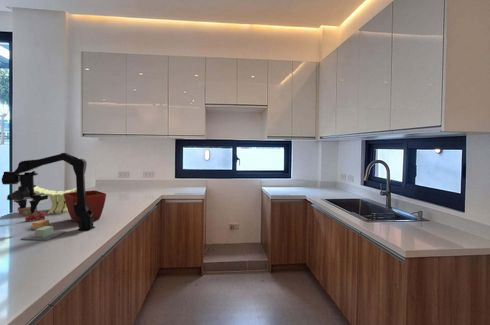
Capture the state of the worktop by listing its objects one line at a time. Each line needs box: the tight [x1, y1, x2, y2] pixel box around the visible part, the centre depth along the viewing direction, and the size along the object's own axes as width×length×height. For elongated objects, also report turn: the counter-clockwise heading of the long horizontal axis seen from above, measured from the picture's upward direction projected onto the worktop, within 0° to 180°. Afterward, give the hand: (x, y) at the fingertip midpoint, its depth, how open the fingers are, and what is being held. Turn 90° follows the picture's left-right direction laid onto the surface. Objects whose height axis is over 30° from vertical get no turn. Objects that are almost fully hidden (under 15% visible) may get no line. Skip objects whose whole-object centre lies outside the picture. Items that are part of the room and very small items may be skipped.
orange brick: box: [31, 219, 50, 230], centre depth 170 cm, size 4×7×4 cm, turn 173°
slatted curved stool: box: [34, 185, 77, 215], centre depth 212 cm, size 30×16×18 cm, turn 113°
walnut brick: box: [18, 206, 38, 218], centre depth 159 cm, size 4×7×4 cm, turn 175°
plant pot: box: [64, 189, 107, 224], centre depth 188 cm, size 19×19×17 cm
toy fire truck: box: [17, 206, 46, 222], centre depth 184 cm, size 3×14×10 cm, turn 141°
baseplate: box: [20, 225, 67, 242], centre depth 155 cm, size 14×14×4 cm
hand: (28, 212), depth 159 cm, fingers closed on walnut brick, 4 cm apart
